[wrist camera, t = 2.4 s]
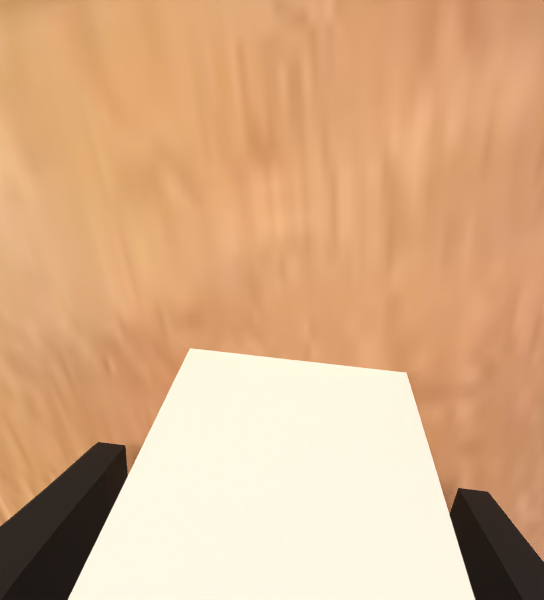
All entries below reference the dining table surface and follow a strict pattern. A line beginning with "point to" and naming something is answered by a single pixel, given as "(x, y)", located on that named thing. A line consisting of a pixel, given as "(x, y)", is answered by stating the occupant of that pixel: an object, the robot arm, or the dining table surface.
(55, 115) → the dining table surface
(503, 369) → the dining table surface
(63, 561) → the robot arm
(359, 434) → the cream block
